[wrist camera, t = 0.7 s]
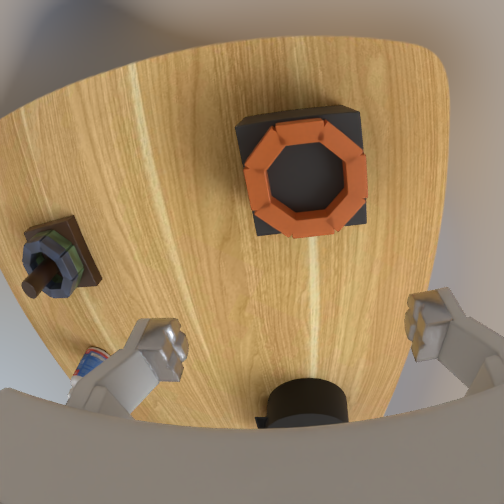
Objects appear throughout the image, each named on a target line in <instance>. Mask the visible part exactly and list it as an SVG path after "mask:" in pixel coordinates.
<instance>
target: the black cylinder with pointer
mask: <svg viewBox="0 0 504 504" xmlns="http://www.w3.org/2000/svg"><path fill="white" fill-rule="evenodd" d="M255 420H256V423H257V427H258V429H272V428H295V427H310V426H321V425H331V424H340V423H348V422H349V421H348V411H347V401H346V396H345V394H344V392H343V391H342V390H341V389H340V388H339V387H338V386H336V385H335V384H333V383H331V382H328V381H325V380H321V379H313V378H305V379H297V380H292V381H289V382H286V383H284V384H282V385H280V386H279V387H277V388H276V389H275V390H274V391H273V392H272V393H271V394H270V396H269V399H268V405H267V416H266V417H255Z"/></svg>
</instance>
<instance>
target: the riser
mask: <svg viewBox="0 0 504 504" xmlns="http://www.w3.org/2000/svg"><path fill="white" fill-rule="evenodd" d="M313 118H321V119H322V120H323V121H324V120H325V119H326V120H327V121H328V122H330V123H331V124H332V125H333V126H335V127H336V128H337V129H338V130H340V131H341V132H342V133H343V134H345V135H346V136H347V137H348V138H349V139H351V140H352V141H353V142H354V143H355V144H357V145H358V146H359V147H360V148H361V149H362V150H363V140H362V129H361V119H360V112H359V111H356V110H354V109H351V108H349V107H346V106H343V105H337V106H325V107H314V108H305V109H296V110H288V111H281V112H274V113H267V114H261V115H254V116H248V117H245V118H244V119H243V120H242V121H241V122H240V123H238V124H237V125H236V126H235V130H236V135H237V140H238V145H239V149H240V154H241V159H242V164H243V169H244V167H245V165H244V164H245V162H246V160H247V158H248V157H249V155H250V154H251V153H252V151H253V150H254V148H255V147H256V146H257V144H258V143H259V142H260V140H261V139H262V138H263V136H264V135H265V134H266V132H267V131H268V130H269V128H270V127H271V126H273V127H275V126H276V123H280V122H288V121H296V120H304V119H313ZM363 153H364V152H363ZM267 173H268V179H269V184H270V190H271V196H273V197H274V198H276V199H277V200H278V201H280V202H281V203H283V204H284V205H286V206H287V207H288V208H290V209H291V210H293V211H294V212H296V213H298V212H306V211H315V210H324V209H326V208H327V207H328V205H329V204H330V203H331V202H332V201H333V200H334V199H335V198H336V196H337V195H338V194H339V193H340V192H341V191H342V190H343V188H344V176H343V164H342V159H340V158H339V157H338V156H337V155H335V154H334V153H333V152H332V151H330V150H329V149H328V148H326V147H325V146H324V145H323V144H321V143H320V142H315V143H306V144H298V145H290V146H285V147H284V149H283V150H282V151H281V153H280V154H279V155H278V156H277V158H276V159H275V160H274V162H273V163H272V164H271V166H270V167H269V168H268V169H267ZM364 199H365V200H366V198H364ZM252 213H253V218H254V223H255V228H256V233H257V236H263V235H271V234H280V233H281V232H280V231H278V230H277V229H275V228H274V227H272V226H271V225H269V224H268V223H266V222H265V221H263V220H262V219H260V218H259V217H257V216H256V215H254V213H255V210H254V211H252ZM366 223H367V215H366V202H365V204H364V205H363V206H362V207H361V208H360V209H359V210H358V211H357V212H356V213H355V215H354V216H353V217H352V218H351V219H350V220H349V221H348V222H347V223H346V224H345V225H344V226H350V225H360V224H366Z"/></svg>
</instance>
